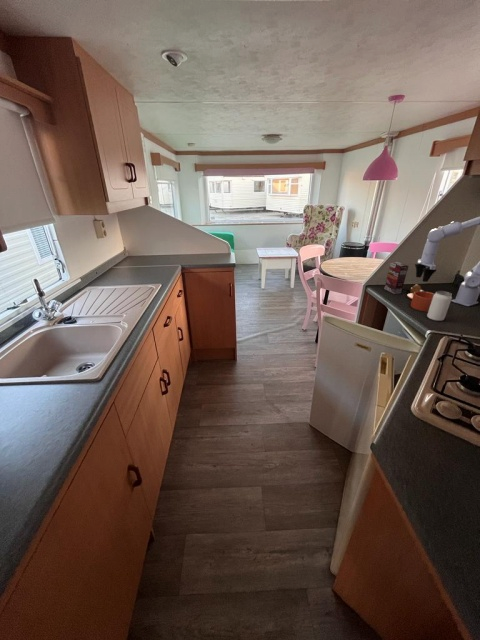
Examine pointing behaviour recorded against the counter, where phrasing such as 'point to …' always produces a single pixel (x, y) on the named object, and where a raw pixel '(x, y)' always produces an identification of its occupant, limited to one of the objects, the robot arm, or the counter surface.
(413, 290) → the bun
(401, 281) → the supplement box
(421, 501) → the counter surface
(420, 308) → the pot
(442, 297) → the can
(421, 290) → the lid
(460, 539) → the counter surface
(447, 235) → the robot arm
